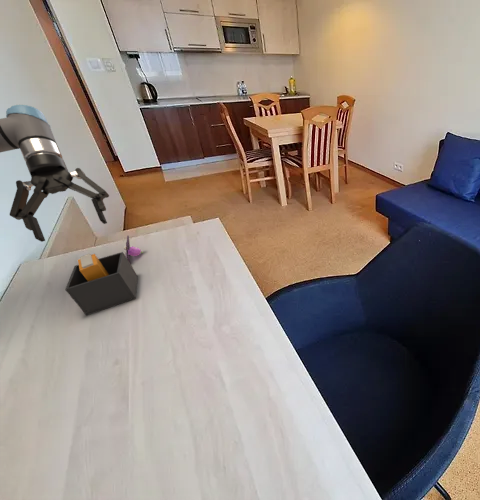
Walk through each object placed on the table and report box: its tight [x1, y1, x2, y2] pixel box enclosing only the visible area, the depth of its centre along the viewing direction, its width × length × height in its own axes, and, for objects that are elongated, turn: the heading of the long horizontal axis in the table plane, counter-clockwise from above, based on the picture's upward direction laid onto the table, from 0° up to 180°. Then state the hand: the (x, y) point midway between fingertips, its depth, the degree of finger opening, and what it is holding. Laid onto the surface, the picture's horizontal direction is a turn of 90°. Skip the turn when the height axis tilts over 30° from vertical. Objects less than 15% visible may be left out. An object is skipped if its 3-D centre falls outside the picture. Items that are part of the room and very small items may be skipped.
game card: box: [123, 235, 144, 262], centre depth 106 cm, size 7×5×9 cm
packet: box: [77, 253, 109, 281], centre depth 86 cm, size 4×7×13 cm, turn 41°
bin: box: [65, 251, 138, 316], centre depth 88 cm, size 12×12×10 cm
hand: (73, 230), depth 79 cm, fingers open, 13 cm apart
